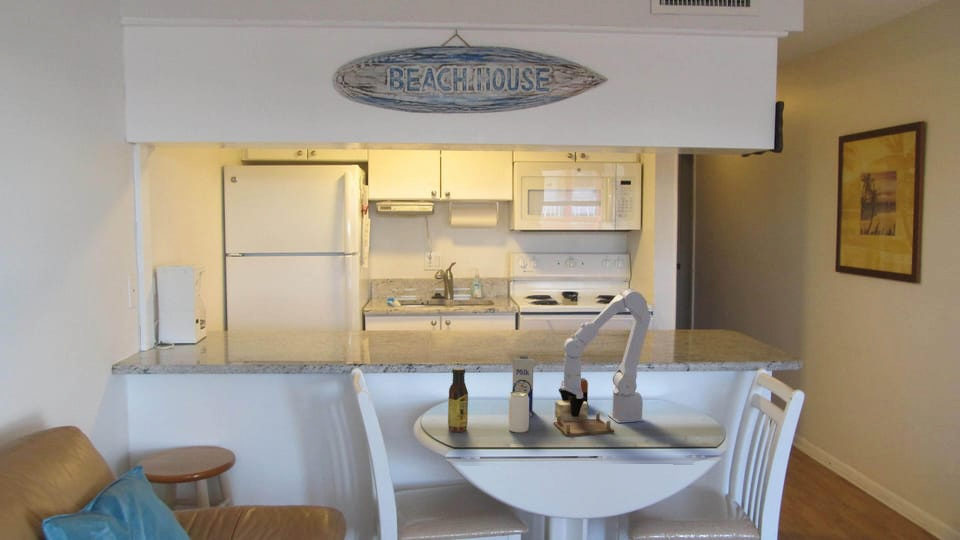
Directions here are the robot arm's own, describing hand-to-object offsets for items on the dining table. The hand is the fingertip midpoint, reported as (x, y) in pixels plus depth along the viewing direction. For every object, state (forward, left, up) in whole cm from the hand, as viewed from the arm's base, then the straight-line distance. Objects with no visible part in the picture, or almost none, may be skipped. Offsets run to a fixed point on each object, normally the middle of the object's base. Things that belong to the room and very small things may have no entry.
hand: (571, 412), depth 210 cm
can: (+21, +8, -2) cm, 22 cm away
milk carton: (+15, -8, -2) cm, 17 cm away
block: (0, 0, -2) cm, 2 cm away
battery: (-7, -12, -2) cm, 14 cm away
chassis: (0, +10, -2) cm, 11 cm away
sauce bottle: (+40, +4, -2) cm, 40 cm away
